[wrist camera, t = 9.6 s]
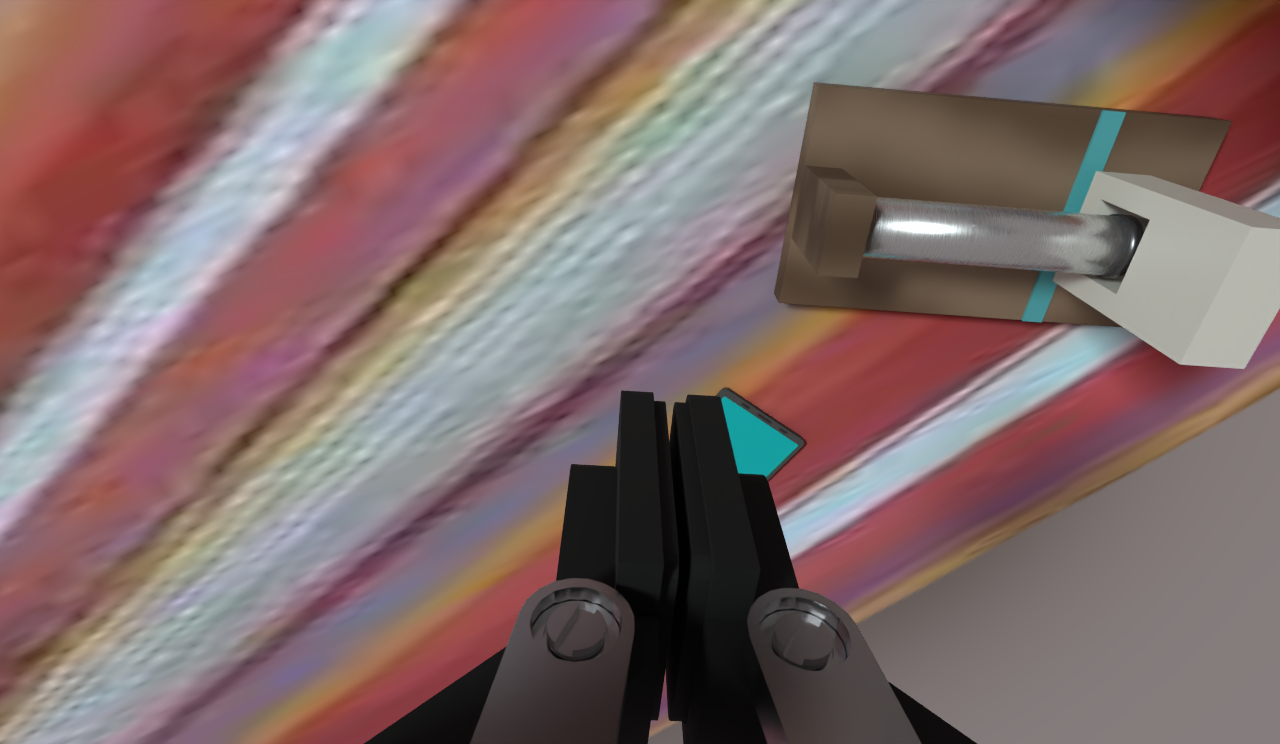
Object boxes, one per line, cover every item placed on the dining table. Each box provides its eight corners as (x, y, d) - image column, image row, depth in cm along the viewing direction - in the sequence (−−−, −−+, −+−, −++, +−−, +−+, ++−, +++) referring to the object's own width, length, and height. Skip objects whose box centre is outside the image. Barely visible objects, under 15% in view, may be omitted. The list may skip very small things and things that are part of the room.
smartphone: (806, 442, 46) (672, 572, 52) (803, 435, 47) (672, 564, 53) (724, 387, 44) (594, 529, 50) (723, 381, 45) (594, 522, 51)
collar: (1096, 170, 36) (1252, 227, 27) (1150, 175, 36) (1323, 232, 27) (1052, 280, 39) (1179, 364, 30) (1102, 284, 39) (1244, 368, 30)
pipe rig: (814, 82, 36) (855, 100, 29) (1210, 117, 37) (1337, 142, 30) (774, 293, 41) (801, 348, 35) (1118, 317, 42) (1207, 375, 36)
